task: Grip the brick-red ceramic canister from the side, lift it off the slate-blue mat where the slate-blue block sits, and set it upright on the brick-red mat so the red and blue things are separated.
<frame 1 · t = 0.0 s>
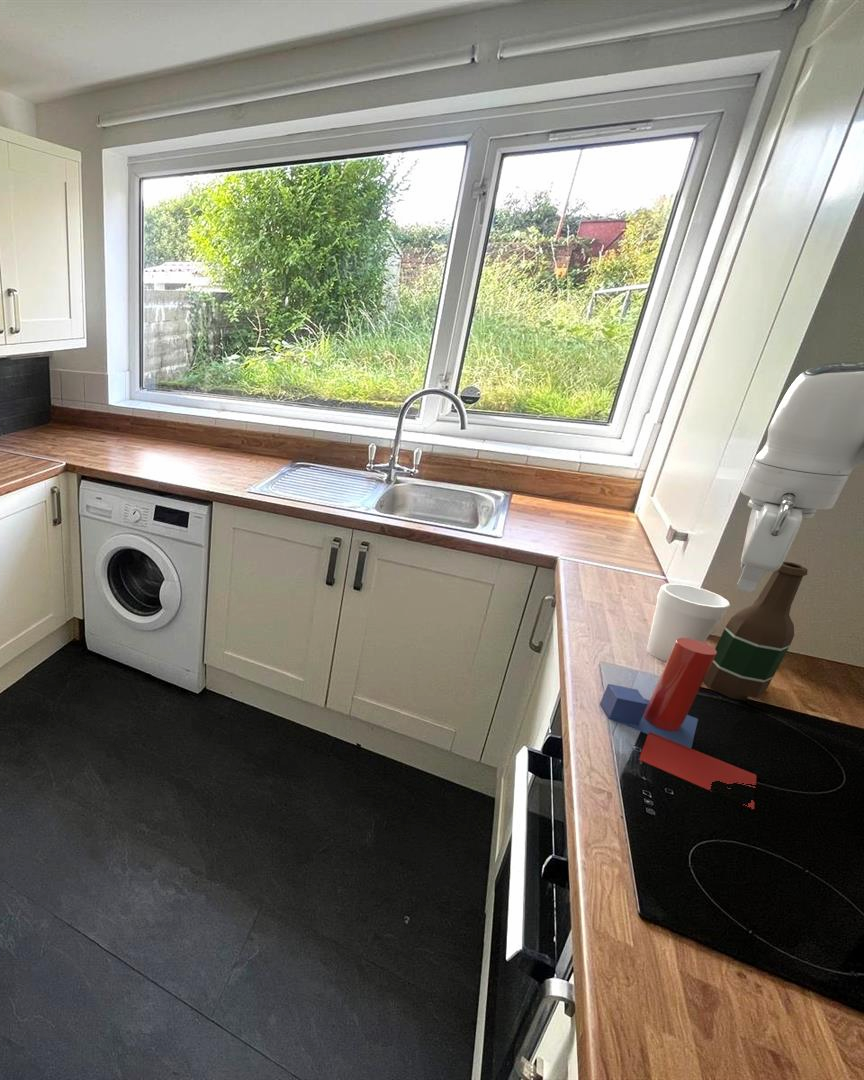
hand: (746, 580, 83), 25 cm above the countertop, tool pointing down, fingers open, 8 cm apart
beer bottle: (729, 691, 101), on the countertop
blue block: (618, 714, 93), resting on blue mat
blue mat: (652, 720, 92), on the countertop
red canister: (661, 721, 92), resting on blue mat
foam cup: (667, 656, 111), on the countertop
red mat: (696, 769, 83), on the countertop
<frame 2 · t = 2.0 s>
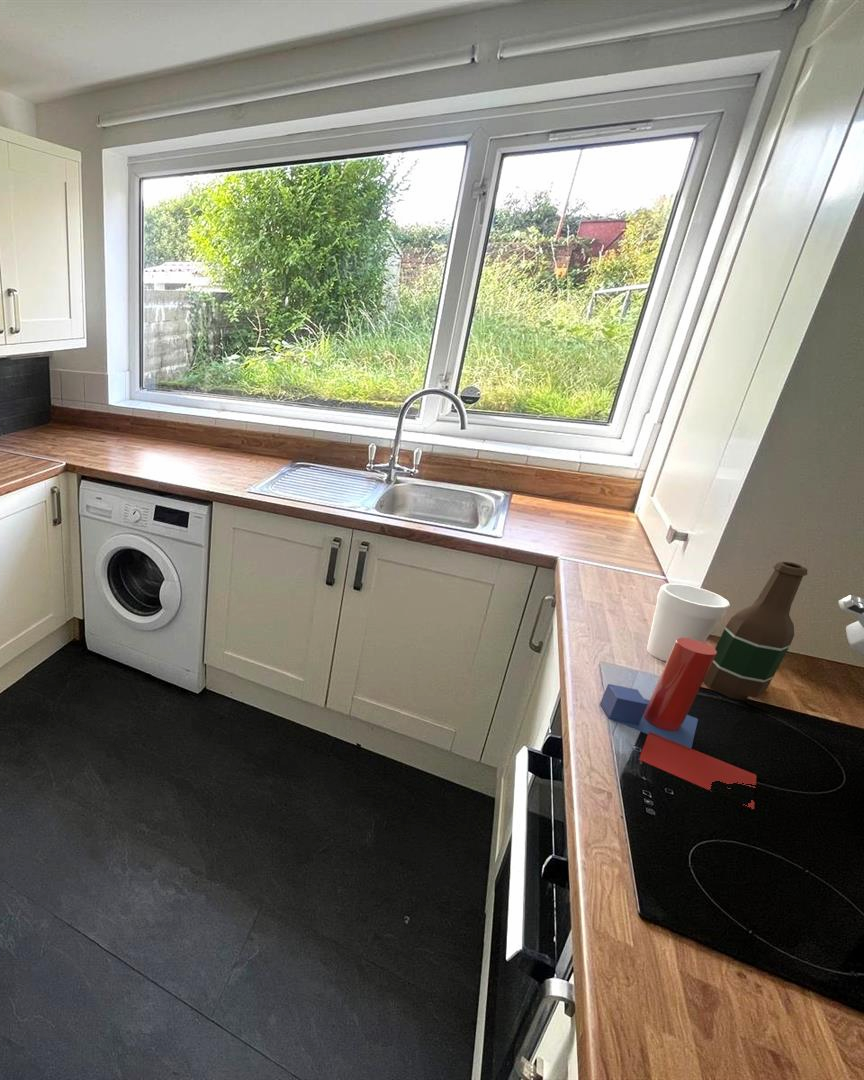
nothing on the countertop moved.
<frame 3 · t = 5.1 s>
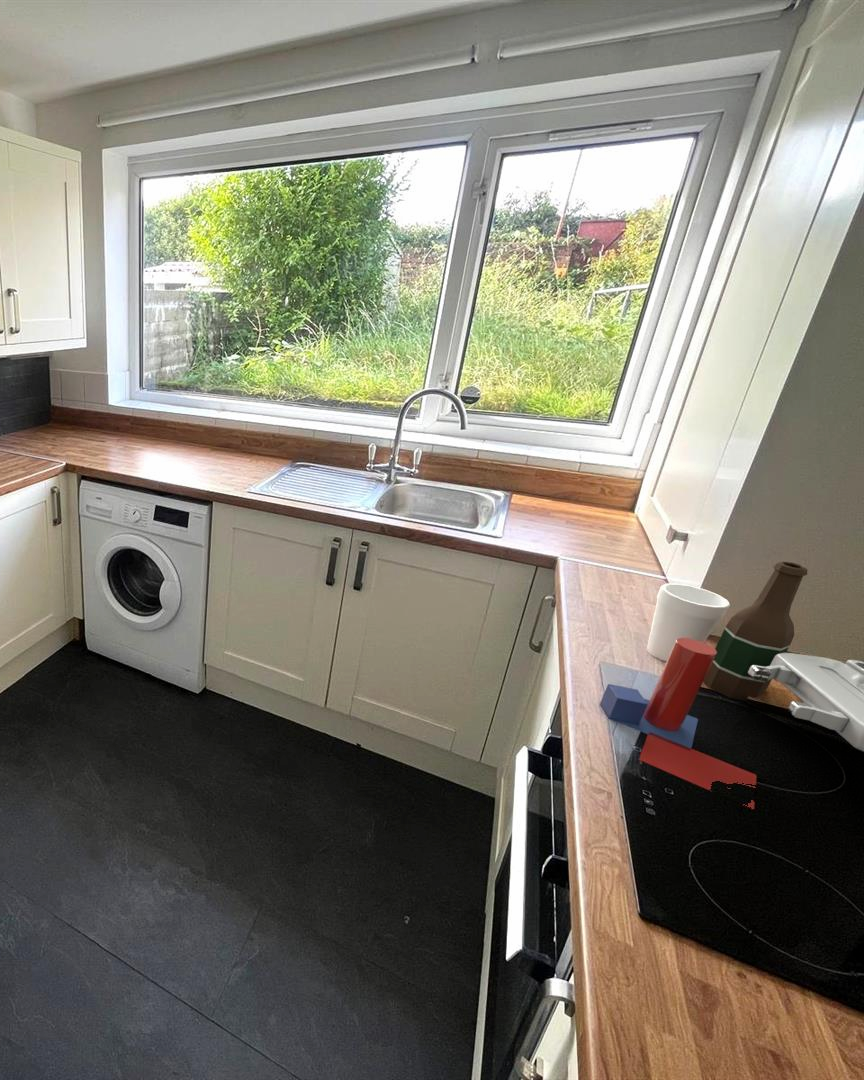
hand: (771, 689, 85), 10 cm above the countertop, tool horizontal, fingers open, 8 cm apart
nothing on the countertop moved.
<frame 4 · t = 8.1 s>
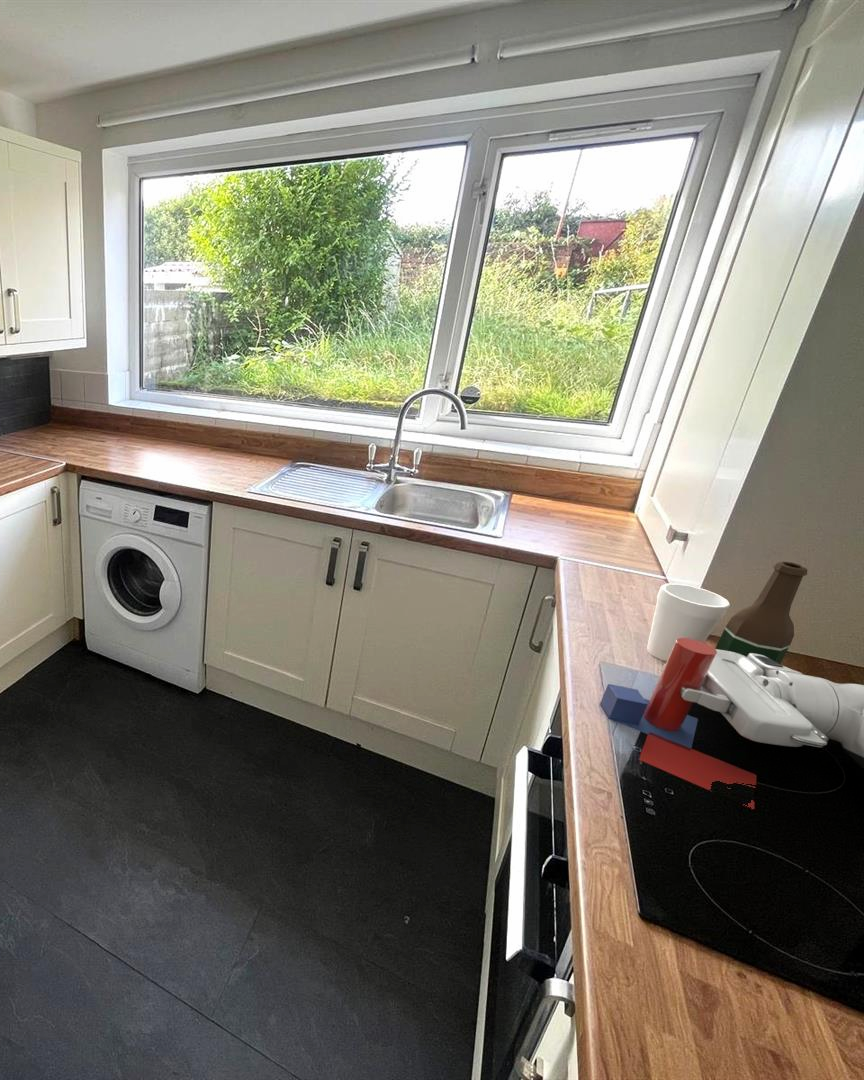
hand: (672, 680, 89), 8 cm above the countertop, tool horizontal, fingers closed on red canister, 4 cm apart
red canister: (661, 721, 92), resting on blue mat, touching gripper
everything else where it was.
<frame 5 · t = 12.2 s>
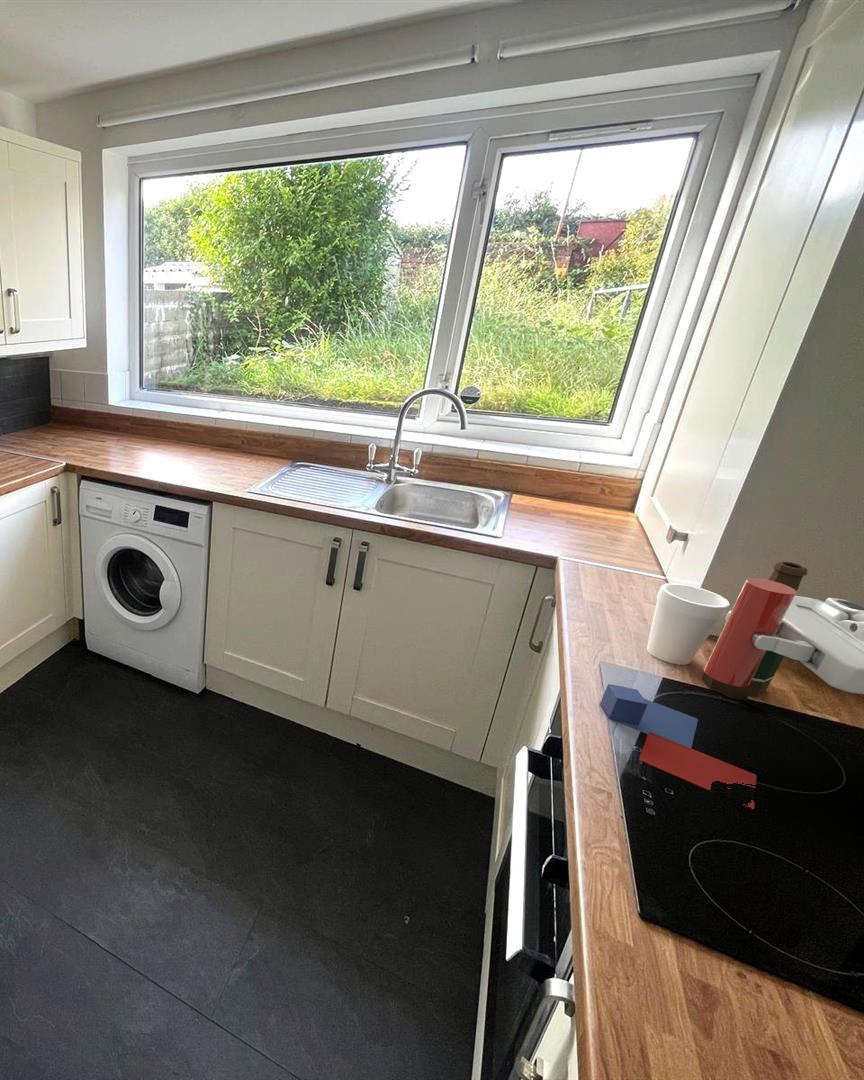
hand: (741, 628, 77), 22 cm above the countertop, tool horizontal, fingers closed on red canister, 4 cm apart
red canister: (726, 676, 80), point 14 cm above the countertop, touching gripper
everything else where it was.
when the fingers open (8 cm above the countertop, at t = 16.4 s): red canister stays where it is, resting on red mat.
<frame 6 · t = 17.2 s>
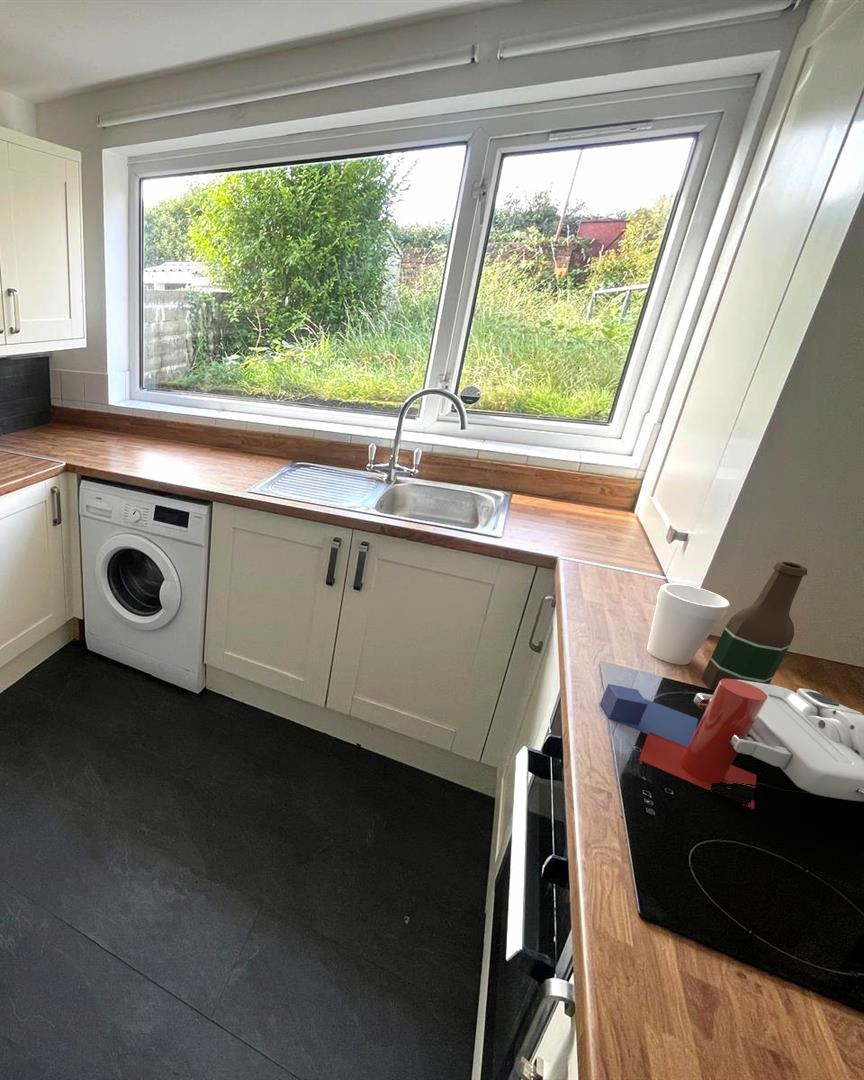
hand: (714, 720, 79), 9 cm above the countertop, tool horizontal, fingers open, 8 cm apart
red canister: (701, 770, 82), resting on red mat
everything else where it was.
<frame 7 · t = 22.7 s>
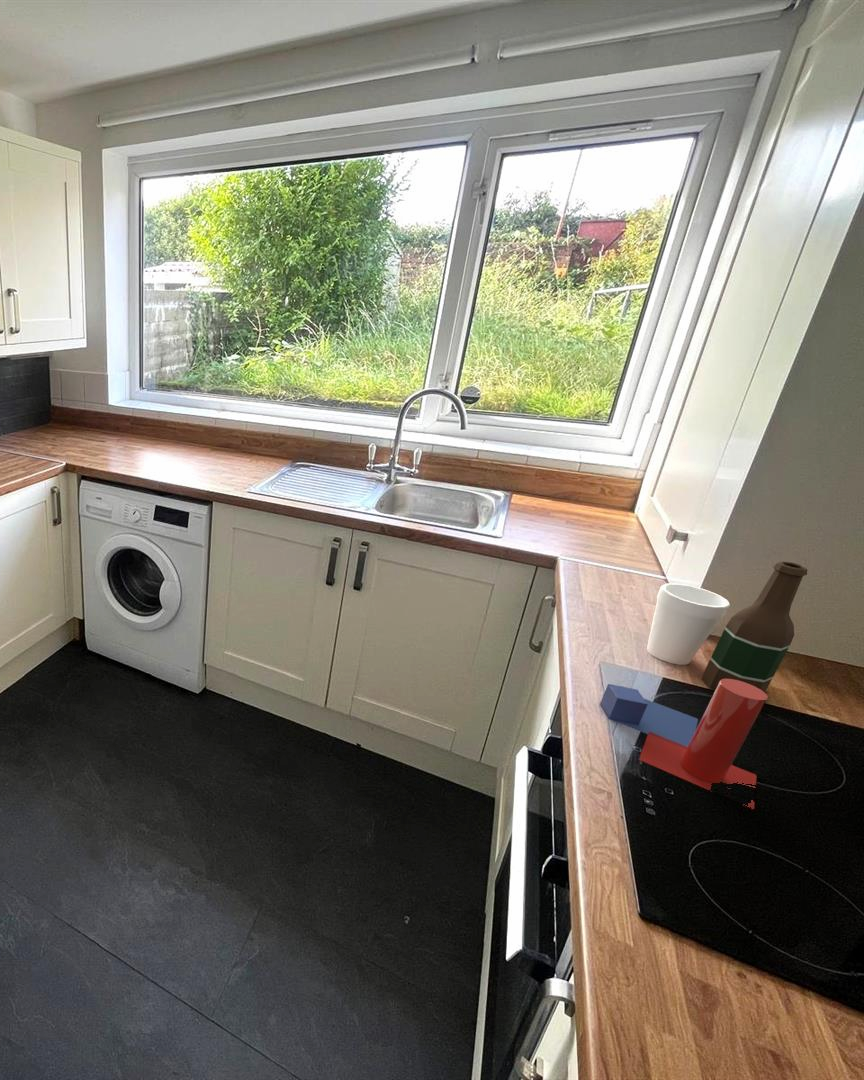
nothing on the countertop moved.
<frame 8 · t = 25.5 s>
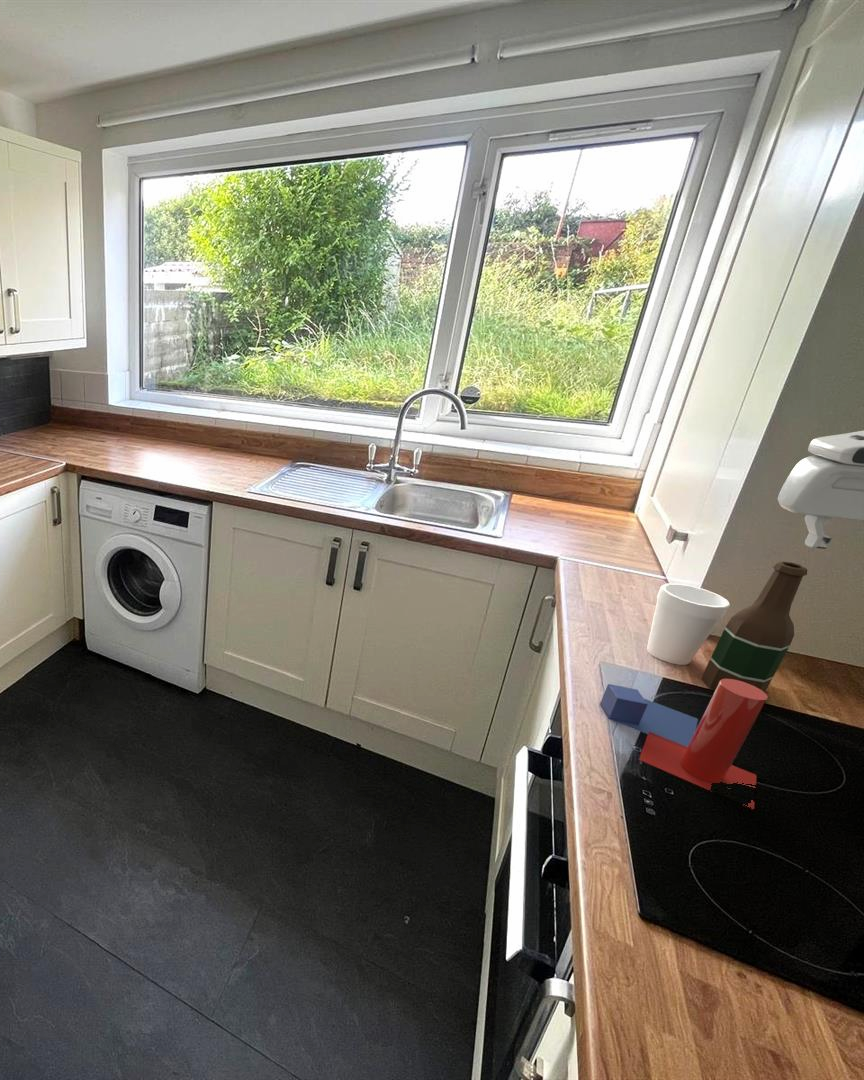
hand: (859, 552, 78), 31 cm above the countertop, tool pointing down, fingers open, 8 cm apart
nothing on the countertop moved.
at the end: red canister inside the target area (0.7 cm from its centre), resting on red mat; red canister tilted 0°; blue block moved 0.0 cm from its start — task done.
